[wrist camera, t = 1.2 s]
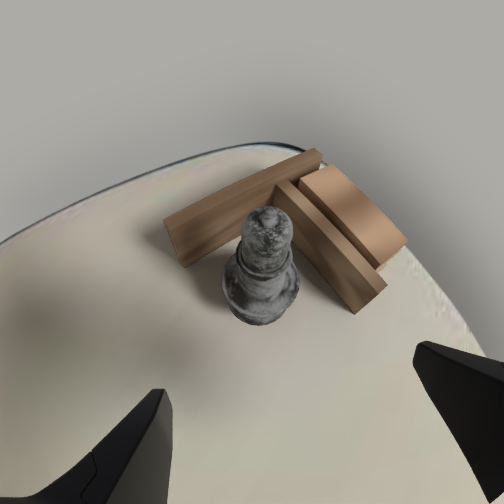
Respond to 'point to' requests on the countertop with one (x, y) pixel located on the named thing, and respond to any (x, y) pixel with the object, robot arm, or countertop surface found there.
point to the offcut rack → (303, 221)
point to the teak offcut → (353, 215)
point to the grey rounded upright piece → (262, 268)
